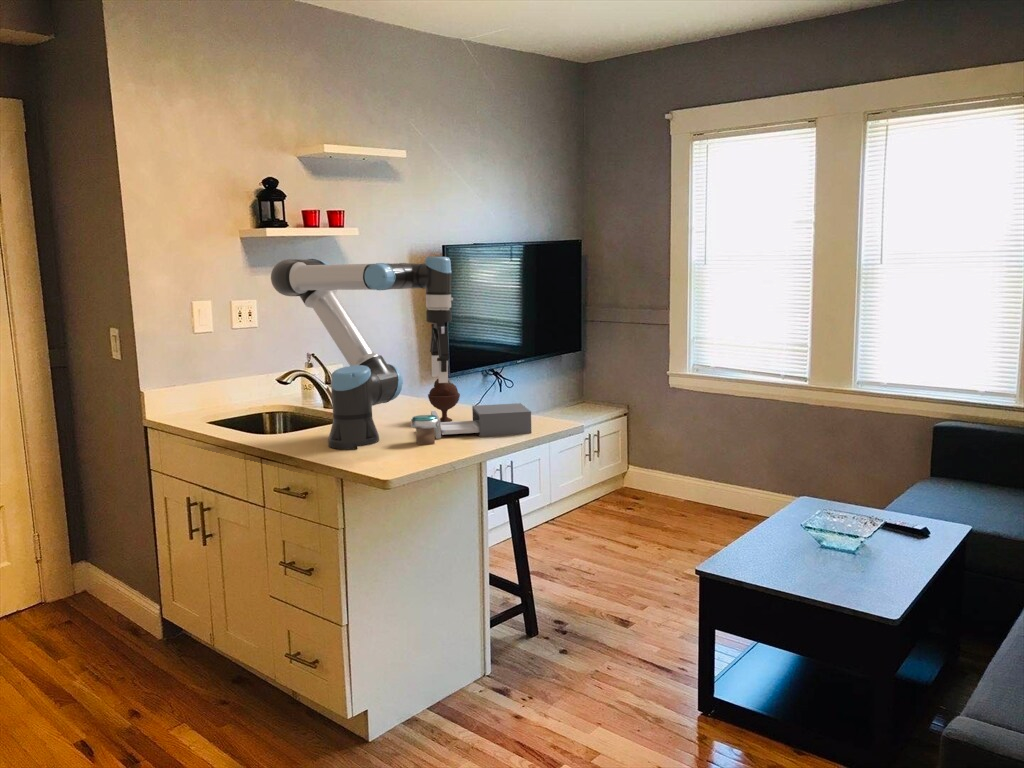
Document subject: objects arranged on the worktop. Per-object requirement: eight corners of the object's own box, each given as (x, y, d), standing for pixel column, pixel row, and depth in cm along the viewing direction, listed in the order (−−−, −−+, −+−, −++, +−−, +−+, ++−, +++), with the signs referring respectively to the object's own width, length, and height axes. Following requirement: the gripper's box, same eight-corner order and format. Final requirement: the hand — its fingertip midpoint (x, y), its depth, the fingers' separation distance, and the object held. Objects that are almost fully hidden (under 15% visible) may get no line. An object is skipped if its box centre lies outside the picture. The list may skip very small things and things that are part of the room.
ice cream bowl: (422, 423, 278) (420, 379, 276) (440, 418, 287) (438, 375, 285) (449, 425, 273) (447, 380, 271) (466, 420, 282) (465, 376, 280)
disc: (412, 429, 241) (411, 420, 241) (410, 424, 249) (410, 415, 248) (439, 427, 242) (439, 418, 242) (437, 423, 250) (436, 414, 250)
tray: (436, 438, 251) (435, 419, 250) (431, 428, 267) (430, 411, 266) (488, 435, 254) (487, 417, 253) (480, 426, 270) (480, 408, 269)
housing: (480, 436, 253) (479, 414, 252) (472, 426, 270) (472, 405, 269) (531, 433, 256) (531, 411, 255) (521, 424, 272) (520, 403, 271)
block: (417, 444, 243) (417, 428, 243) (416, 441, 248) (415, 425, 248) (434, 443, 244) (434, 427, 244) (433, 440, 249) (432, 424, 248)
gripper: (458, 311, 235) (459, 385, 238) (444, 306, 259) (445, 373, 262) (432, 311, 234) (433, 385, 237) (420, 306, 257) (421, 374, 261)
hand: (439, 379), depth 250 cm, fingers open, 13 cm apart
